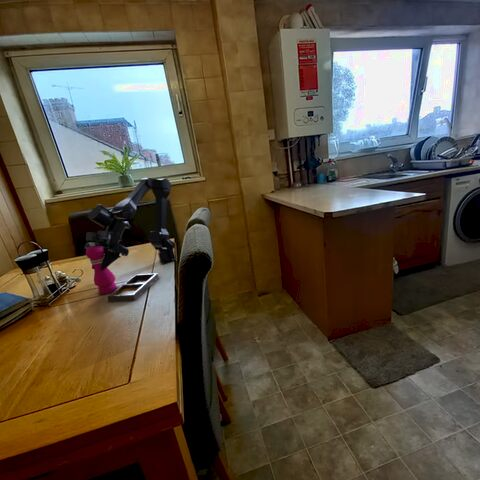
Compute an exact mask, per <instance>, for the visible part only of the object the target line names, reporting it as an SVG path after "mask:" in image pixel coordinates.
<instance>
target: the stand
mask: <svg viewBox="0 0 480 480" xmlns="http://www.w3.org/2000/svg"><path fill="white" fill-rule="evenodd" d="M158 279H160V277H159V274H158V272H155V273H140V274H134V275H133V276H132V277H130V278H129V279H127V280H126V281H125V282H124V283H122V284H121V285H120V286H119V287H117V288H116V289H115V290H114V291H112V292H110V293H108V295H107V296H106V298H107V302H109V303H114V302H130V301H136V300H137V299H138V298H139V297H140V296H142V295H143V294H144V293H145V292H146V291H147V290H148V289H149V288H150V287H151V286H152V285H153V284H154V283H155V282H156V281H157V280H158Z"/></svg>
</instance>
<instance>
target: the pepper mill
mask: <svg viewBox="0 0 480 480" xmlns="http://www.w3.org/2000/svg"><path fill="white" fill-rule="evenodd" d="M90 242H91V243H90V247H89V248H87V249H85V256H86V257H87V258H88V259H89V262H90V264H91V265H92V264H93V266H94V269H93V270H94V273H93V283H94V286H96V287H98V288H97V290H98V292H99V294H101V295H104V294H110V293H112V292H113V291H115V290H116V289H117V288H118V287H117V284H116V282H115V281H116V277H115V275H114V273H113V272H112V271H111V270H110V269H109V267H107V268H106V269H104V270H101V269H100V268H101V265H102V262H103V259H104V255H105V254H104V251H103V250H104V249H103V248H102V247H101V246H98V245H99V244H98V245H95V243H96V242H95V241H90Z"/></svg>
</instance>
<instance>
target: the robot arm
mask: <svg viewBox="0 0 480 480" xmlns="http://www.w3.org/2000/svg"><path fill="white" fill-rule="evenodd" d="M149 190H151V192H152V194H153V196H154V198H155V201H154V203H155V208H154V229H153V231H150V232H149V241H150V245H151V246H152V247H153V248H154V250H155V251H158V252H157V255H158V260H159V262H161V263H162V264H167V263H171V262H174V261H177V258H176V257H175V252H174V249H175V248H176V243H175V242H174V241H173V240H171V237H170V233H169V232H168V230H167V209H168V208H167V204H168V203H167V202H168V201H167V200H168V198H169V196H170V194H171V191H172V184H171V182H170V180H169V179H168V178H157V179H156V178H151V177H144V178H141V179H140V180H139V182H138V184H137V185H136V186H135V187H134V188H133V189H132V191H130V193H129V194H128V196H126V198H124V199H123V200H121V201H120V202H118V203H116V205H114V206H113V207H112V209H108V208H107V207H105V206H104V205H103V204H96V206H95V207H93V208H92V210H90V211H89V213H88V216H87V217H88V219H89V220H90V221H92V222H94V223H96V224H97V225H99V226H100V227H102V228H106V229H105V230H98V231H97V232H92V231H91V232H89V231H87V232H86V236H85V241H86V243H85V245H84V247H83V248H84V249H85V250H87V248H89V247H90V243H91V242H94V243H95V245H98V246H101V247H102V248H103V249H104V250H103V251H104V259H103V262H102V265H101V268H100V269H101V270H104V269H106V268H109V266H111V264H113V263H114V262H116V261H117V260H118V259H120V258H121V256H122V257H128V256H129V253H130V250H129V248H128V247H126V246H124V245H122V244H120V243H119V242H122V241H123V237H122V235H123V233H124V231H125V229H131V228H132V226H131V225H130V223H129V221H124V220H131V219H132V218H134V216H135V214H136V212H137V206H138V204H140V202H141V201H142V199H143V198H144V197H145V196H146V195H147V194H148V192H149ZM91 269H92V270H94V266H93V264H91Z"/></svg>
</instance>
